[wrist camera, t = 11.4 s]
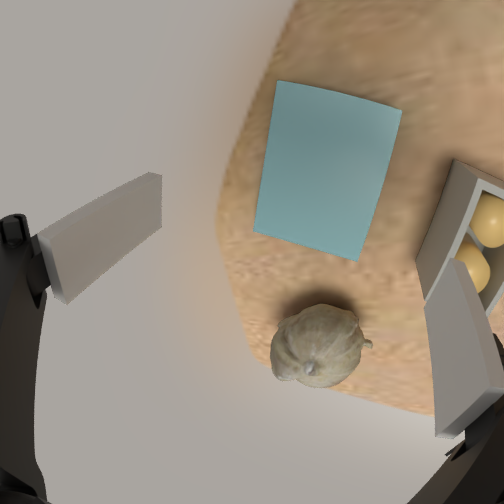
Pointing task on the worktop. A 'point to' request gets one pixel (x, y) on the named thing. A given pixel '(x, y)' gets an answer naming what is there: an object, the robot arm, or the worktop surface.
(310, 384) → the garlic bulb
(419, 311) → the worktop surface
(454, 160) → the box
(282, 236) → the lid
